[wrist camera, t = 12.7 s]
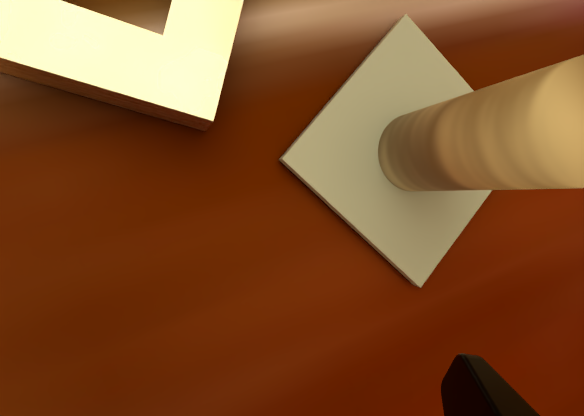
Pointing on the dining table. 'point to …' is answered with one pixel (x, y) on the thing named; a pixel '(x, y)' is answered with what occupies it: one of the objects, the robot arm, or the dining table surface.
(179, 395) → the dining table surface
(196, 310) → the dining table surface
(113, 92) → the collar
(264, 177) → the dining table surface
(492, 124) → the post
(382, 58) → the pad
